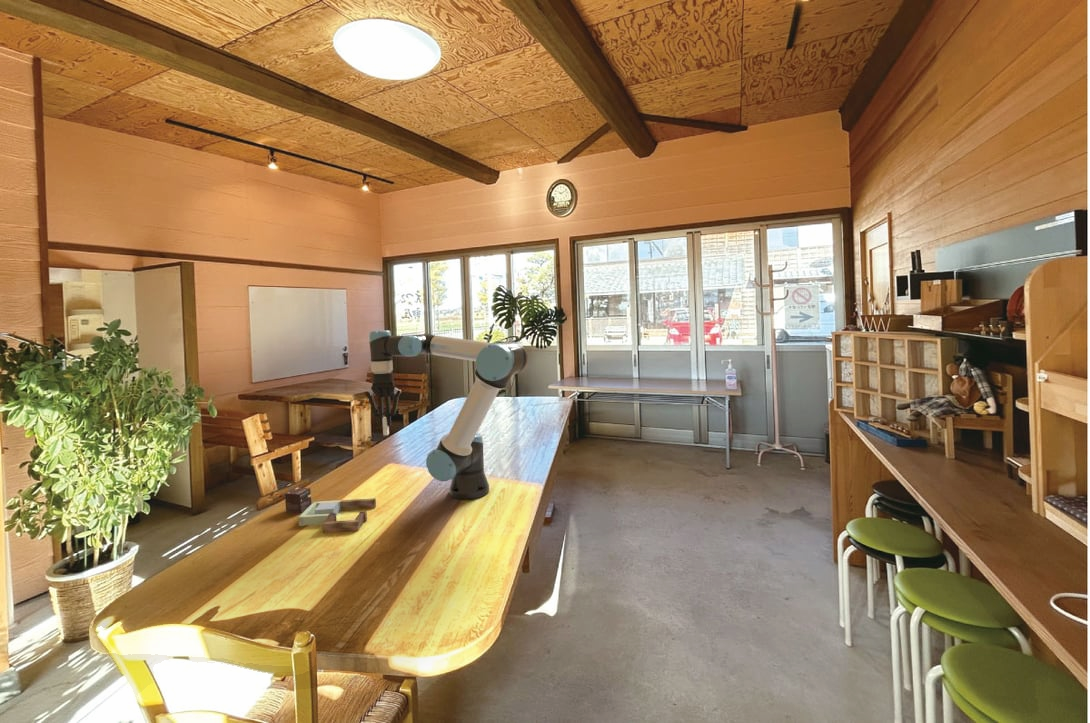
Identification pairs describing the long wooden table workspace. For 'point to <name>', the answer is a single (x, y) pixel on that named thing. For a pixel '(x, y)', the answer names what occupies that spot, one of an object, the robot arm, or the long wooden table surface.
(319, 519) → the bay
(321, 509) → the grey square block
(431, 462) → the robot arm
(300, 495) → the box
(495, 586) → the long wooden table surface
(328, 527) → the open corridor walls
